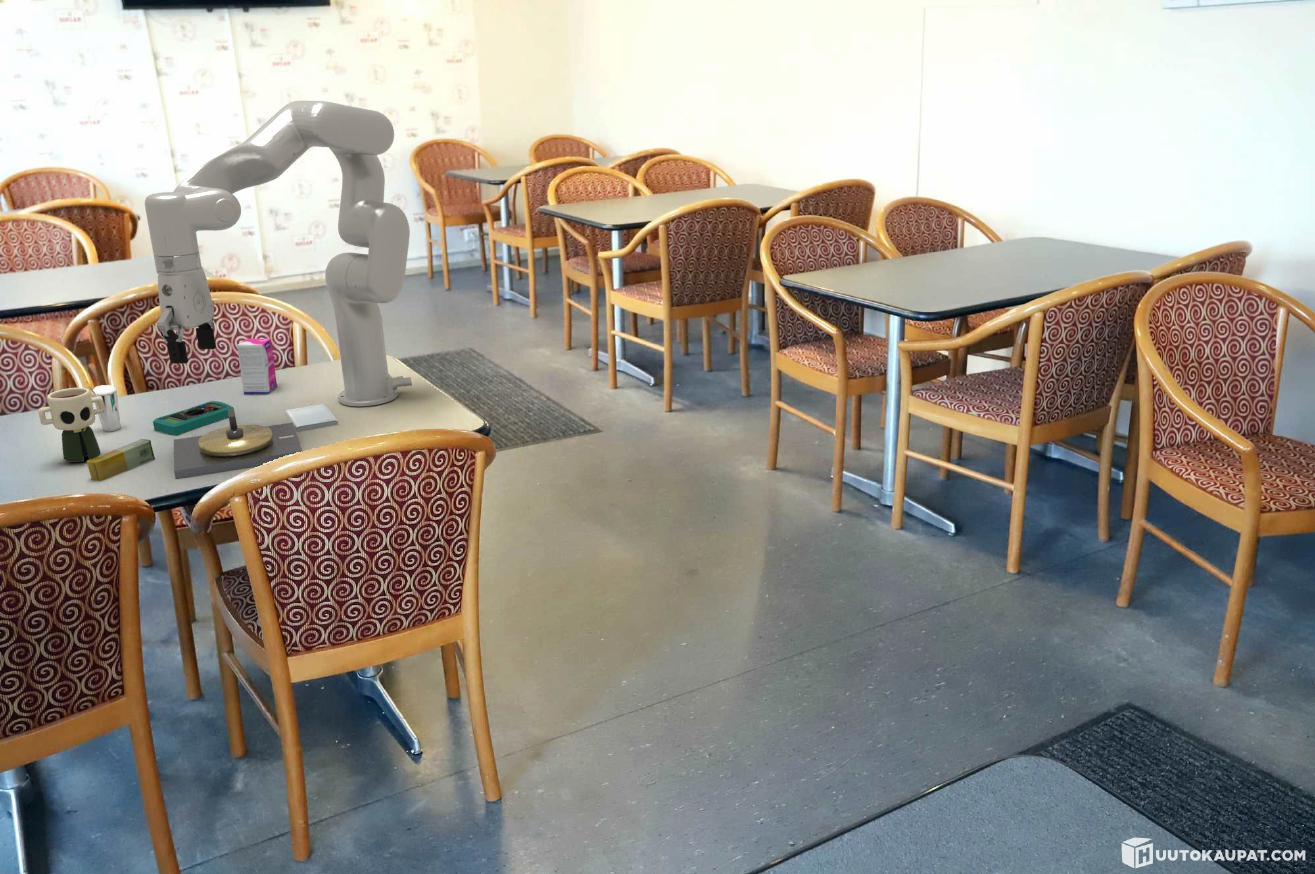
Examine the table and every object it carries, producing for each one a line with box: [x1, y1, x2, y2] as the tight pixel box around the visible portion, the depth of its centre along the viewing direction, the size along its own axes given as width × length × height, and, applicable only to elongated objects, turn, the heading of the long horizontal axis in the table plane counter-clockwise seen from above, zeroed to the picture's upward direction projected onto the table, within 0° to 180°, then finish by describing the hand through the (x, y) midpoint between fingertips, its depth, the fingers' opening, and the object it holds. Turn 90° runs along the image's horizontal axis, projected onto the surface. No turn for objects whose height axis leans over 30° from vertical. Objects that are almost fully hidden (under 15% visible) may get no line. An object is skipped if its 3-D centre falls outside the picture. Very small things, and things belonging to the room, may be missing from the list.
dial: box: [198, 408, 273, 456], centre depth 200 cm, size 13×13×5 cm
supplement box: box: [236, 338, 278, 396], centre depth 236 cm, size 6×6×12 cm
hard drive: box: [284, 403, 339, 433], centre depth 219 cm, size 2×8×12 cm
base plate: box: [173, 422, 303, 480], centre depth 201 cm, size 22×18×2 cm
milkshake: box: [88, 384, 122, 432], centre depth 213 cm, size 4×5×10 cm
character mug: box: [38, 387, 105, 463], centre depth 198 cm, size 11×7×13 cm, turn 131°
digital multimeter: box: [152, 400, 235, 436], centre depth 218 cm, size 7×15×3 cm, turn 148°
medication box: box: [86, 438, 156, 482], centre depth 194 cm, size 12×3×4 cm, turn 155°
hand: (193, 355), depth 196 cm, fingers open, 9 cm apart
